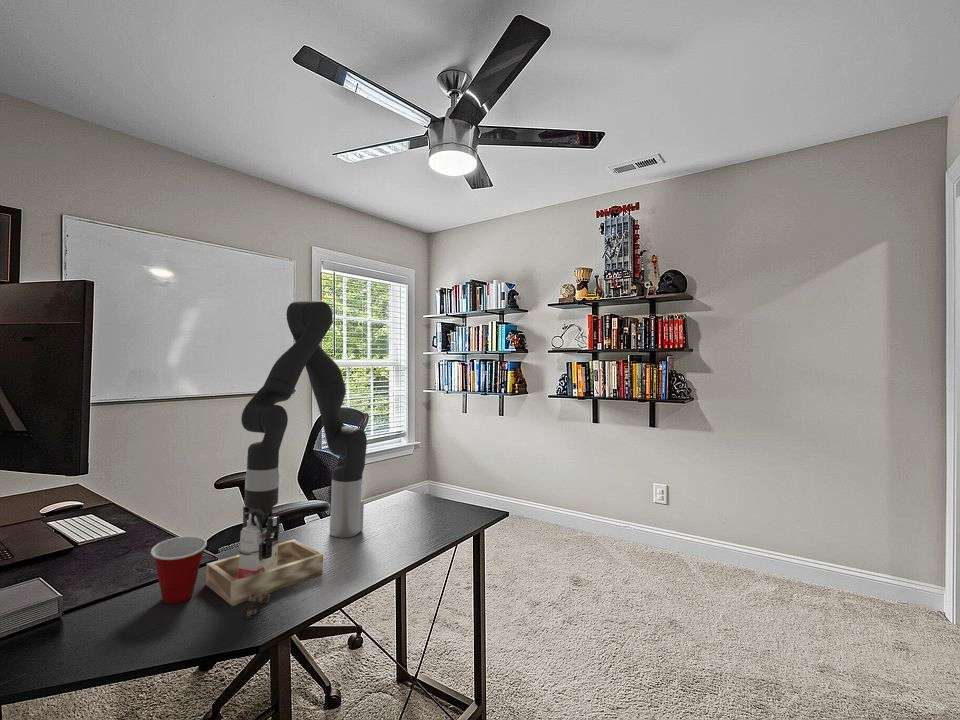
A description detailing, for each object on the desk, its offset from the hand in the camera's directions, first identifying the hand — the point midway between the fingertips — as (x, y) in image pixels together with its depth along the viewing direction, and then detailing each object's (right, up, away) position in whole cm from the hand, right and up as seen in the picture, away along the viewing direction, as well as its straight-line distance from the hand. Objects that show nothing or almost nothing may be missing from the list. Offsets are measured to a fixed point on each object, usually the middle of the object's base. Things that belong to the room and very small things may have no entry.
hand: (259, 553), depth 119 cm
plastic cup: (-14, -7, -9) cm, 18 cm away
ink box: (0, -5, 0) cm, 5 cm away
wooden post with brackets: (+6, -8, -13) cm, 16 cm away
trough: (+1, -7, +1) cm, 7 cm away
